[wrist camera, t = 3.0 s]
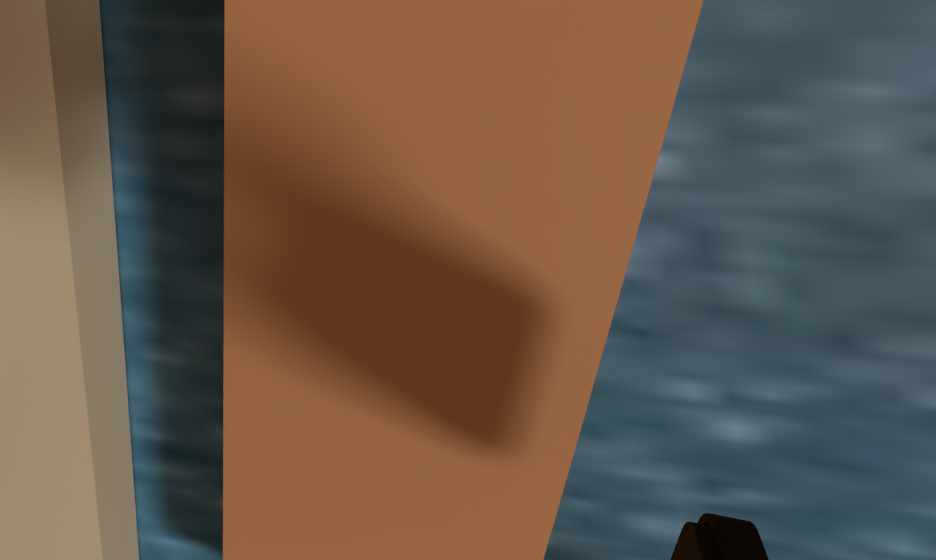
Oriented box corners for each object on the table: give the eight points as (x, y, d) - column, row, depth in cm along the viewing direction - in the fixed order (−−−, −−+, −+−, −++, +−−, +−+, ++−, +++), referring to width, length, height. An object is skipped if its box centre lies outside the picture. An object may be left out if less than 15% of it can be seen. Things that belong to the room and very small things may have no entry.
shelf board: (339, -358, 11) (226, -511, 7) (734, -295, 10) (824, -422, 7) (285, 569, 20) (222, 710, 16) (498, 617, 19) (483, 770, 16)
